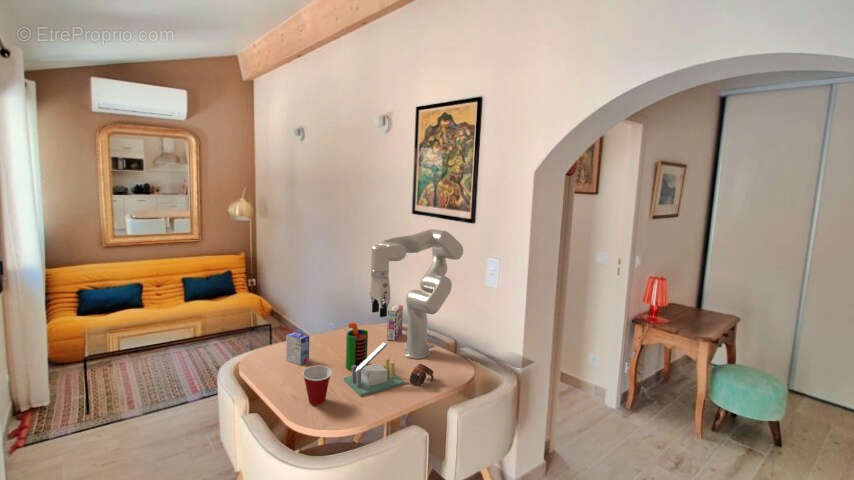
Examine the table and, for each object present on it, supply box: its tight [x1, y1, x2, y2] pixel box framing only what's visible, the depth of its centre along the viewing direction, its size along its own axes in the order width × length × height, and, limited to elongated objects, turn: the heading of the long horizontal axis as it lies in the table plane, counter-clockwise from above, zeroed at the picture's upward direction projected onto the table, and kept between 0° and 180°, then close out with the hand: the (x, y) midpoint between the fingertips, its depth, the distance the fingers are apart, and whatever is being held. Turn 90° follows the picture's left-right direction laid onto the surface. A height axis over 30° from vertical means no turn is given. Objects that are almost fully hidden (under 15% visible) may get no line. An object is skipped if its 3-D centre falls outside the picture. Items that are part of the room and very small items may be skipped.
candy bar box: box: [386, 304, 404, 342], centre depth 226 cm, size 11×5×16 cm, turn 165°
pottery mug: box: [409, 363, 434, 386], centre depth 177 cm, size 12×10×8 cm
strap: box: [354, 342, 388, 373], centre depth 175 cm, size 16×3×1 cm
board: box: [343, 357, 405, 397], centre depth 177 cm, size 20×16×8 cm
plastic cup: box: [301, 365, 333, 406], centre depth 159 cm, size 11×11×12 cm
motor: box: [345, 321, 369, 372], centre depth 190 cm, size 10×9×20 cm
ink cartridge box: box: [285, 328, 310, 366], centre depth 194 cm, size 10×6×14 cm, turn 59°
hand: (379, 313), depth 185 cm, fingers open, 6 cm apart
